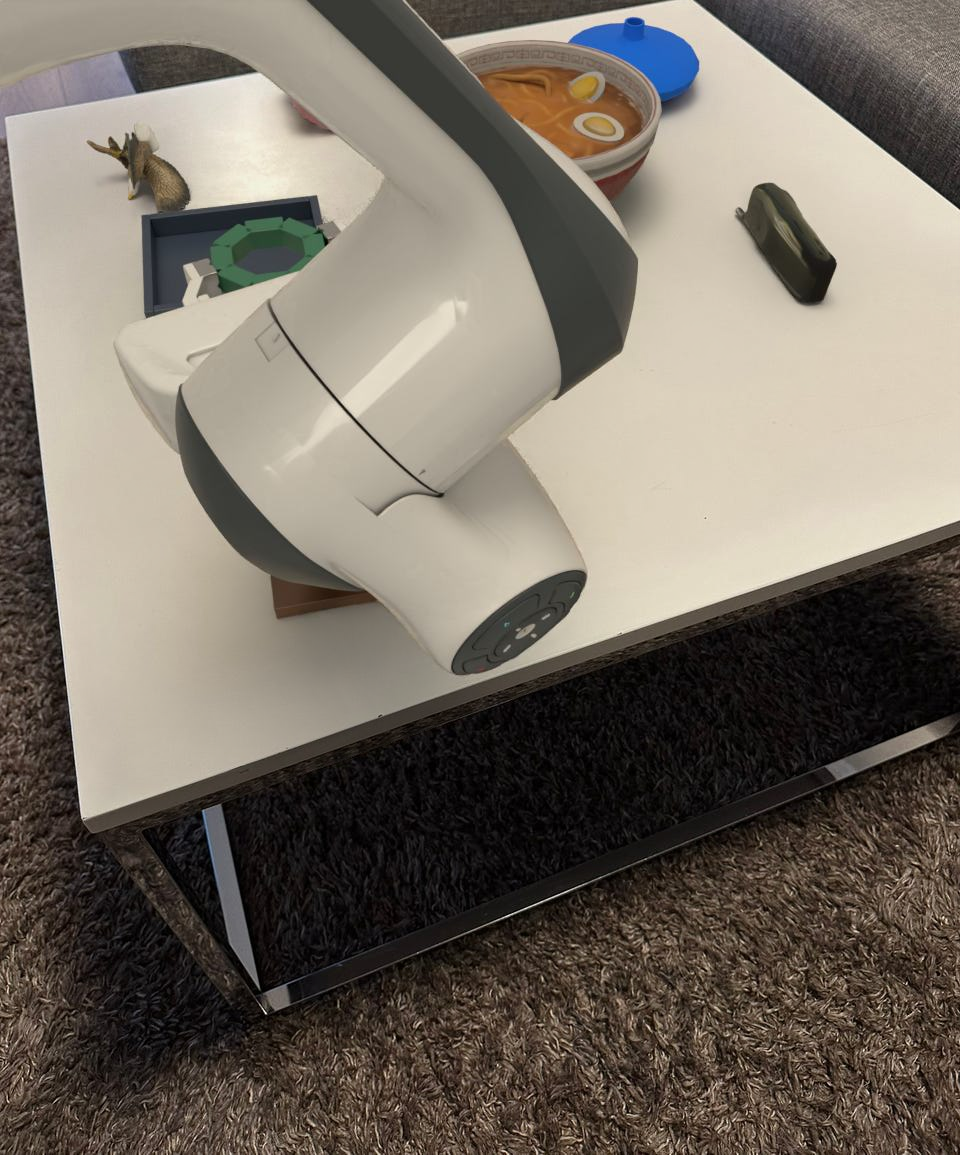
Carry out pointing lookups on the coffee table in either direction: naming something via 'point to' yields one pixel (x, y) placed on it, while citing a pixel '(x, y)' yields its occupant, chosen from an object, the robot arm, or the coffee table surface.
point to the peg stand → (312, 598)
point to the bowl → (575, 103)
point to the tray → (210, 244)
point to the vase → (646, 53)
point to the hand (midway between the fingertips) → (263, 251)
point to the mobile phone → (789, 242)
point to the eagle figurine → (148, 168)
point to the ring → (261, 237)
